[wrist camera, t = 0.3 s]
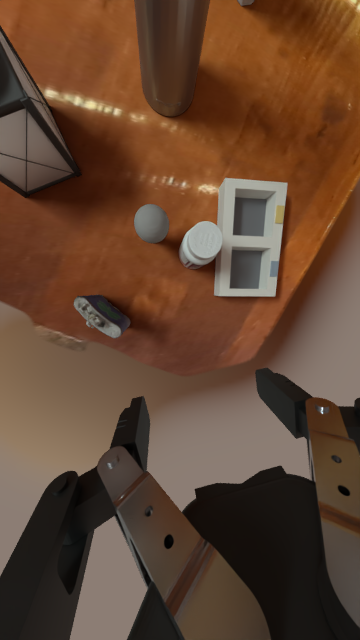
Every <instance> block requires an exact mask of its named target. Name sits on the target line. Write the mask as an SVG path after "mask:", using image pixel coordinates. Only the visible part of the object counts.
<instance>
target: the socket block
mask: <svg viewBox="0 0 360 640" xmlns="http://www.w3.org/2000/svg"><path fill="white" fill-rule="evenodd" d="M286 192H287V183H282V182H269V181H257V180H244V179H232V178H225V179H224V181H223V183H222V184H221V186H220V188H219V199H218V222H217V226H218V228H219V229H220V231H221V233H222V237H223V242H222V247H221V249H220V251H219V252H218V253H217V255H216V266H215V288H214V295H215V296H275V294H276V285H277V276H278V266H279V257H280V248H281V239H282V229H283V220H284V211H285V202H286Z"/></svg>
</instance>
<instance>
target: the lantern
mask: <svg viewBox="0 0 360 640" xmlns="http://www.w3.org/2000/svg"><path fill="white" fill-rule="evenodd" d="M51 112H52V110H51V108H50V106H49V104H48V103H47V101H46V99H45V98H44V96H43V94H42V93H41V91H40V90H39V88H38V86H37V85H36V83H35V81H34V80H33V78H32V76H31V75H30V73H29V72H28V70H27V68H26V67H25V65H24V63H23V62H22V60H21V58H20V57H19V55H18V54H17V52H16V50H15V49H14V47H13V45H12V44H11V42H10V40H9V39H8V37H7V36H6V34H5V32H4V31H3V29H2V27H1V26H0V181H1V182H2V183H4V184H5V185H7V186H8V187H10V188H11V189H13V190H14V191H16V192H17V193H19V194H20V195H22V196H23V197H25V198H26V197H29V196H30V194H33V193H35V192H38V191H40V190H43V189H45V188H48V187H50V186H53V185H55V184H58V183H60V182H62V181H65V180H67V179H70V178H72V177H75V176H77V177H78V176H80V175H82V174H81V172H80V170H79V168H78V166H76V165H77V164H76V163H75V161H74V159H73V157H72V155H71V153H70V151H69V149H68V147H67V145H66V143H65V140H64V138H63V136H62V134H61V132H60V130H59V128H58V125H57V123H56V121H55V119H54V117H53V115H52V113H51Z"/></svg>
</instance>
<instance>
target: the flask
mask: <svg viewBox="0 0 360 640" xmlns="http://www.w3.org/2000/svg"><path fill="white" fill-rule="evenodd" d="M74 306H75V308H76V309H77V311H78V312H79V313H80V314H81V315H82V316H83V317H84V318H85V319H86V320H87V321H88V322H87V323H86V324H87V326H88V327H91V325H93V326H94V327H95V328H97V329H98V330H100V331H101V332H103V333H105V334H106V335H108V336H110V337H113V338H118V337H120V336H121V335H122V334H123V332H124V331H125V330H126V329H127V328H128V326H129V325H130V320H129V318H128V317H127V316H126V315H123V314H122V313H121V312H120V310H118V309H117V308H116V307H113V306H112V305H111V303H109V302H108V301H107V300H106V299H105V298H104V297H103V296H102V295H97V294H96V295H90V296H77V298H76V299H75V300H74ZM89 323H90V324H91V325H90V324H89ZM91 328H93V327H91Z"/></svg>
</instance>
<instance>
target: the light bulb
mask: <svg viewBox="0 0 360 640" xmlns="http://www.w3.org/2000/svg"><path fill="white" fill-rule="evenodd" d="M134 225H135V229H136V232H137V234H138V235H139V237H140V238H141V239H143V240H144V241H146V242H149V243H158V242H160V241H162V240H163V239H164V238H165V237H166V235H167V233H168V230H169V220H168V217H167V215H166V213H165V212H164V210H163V209H161V208H160V207H159V206H157V205H154V204H147V205H144V206H142V207H141V208H140V209H139V210H138V211H137V213H136V215H135V219H134Z"/></svg>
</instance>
